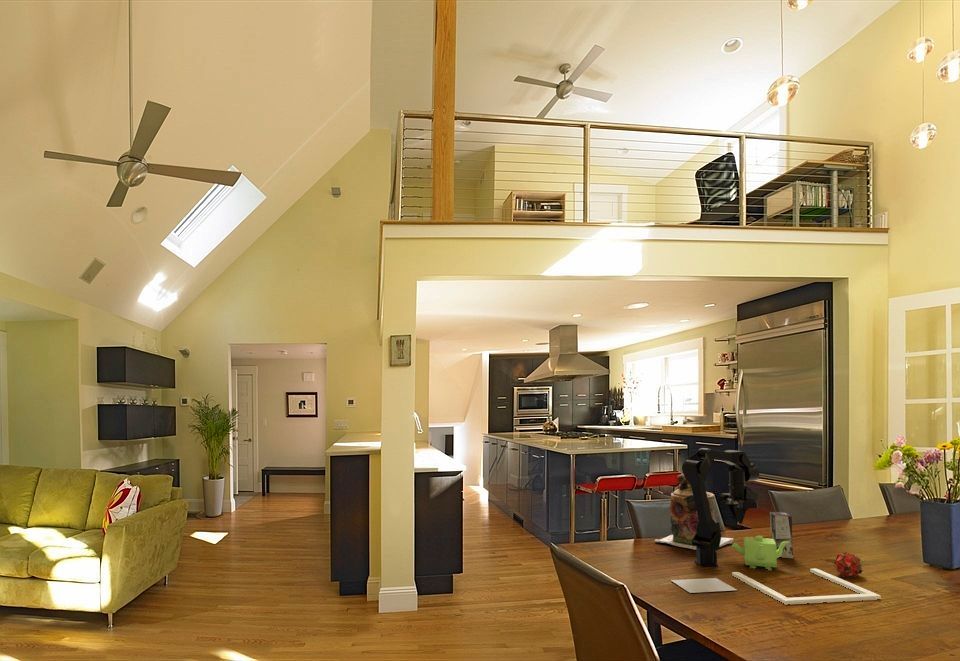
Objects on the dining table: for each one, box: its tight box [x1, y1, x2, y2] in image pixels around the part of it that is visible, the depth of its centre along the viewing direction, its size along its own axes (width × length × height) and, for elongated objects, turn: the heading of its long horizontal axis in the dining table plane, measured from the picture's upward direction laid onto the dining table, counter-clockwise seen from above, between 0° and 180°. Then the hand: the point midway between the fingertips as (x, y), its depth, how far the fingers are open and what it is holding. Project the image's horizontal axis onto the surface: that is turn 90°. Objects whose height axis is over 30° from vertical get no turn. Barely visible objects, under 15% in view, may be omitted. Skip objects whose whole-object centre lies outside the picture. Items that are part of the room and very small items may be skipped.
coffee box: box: [769, 511, 794, 559], centre depth 264 cm, size 9×6×16 cm
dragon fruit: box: [833, 551, 863, 578], centre depth 235 cm, size 8×8×12 cm
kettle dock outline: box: [731, 567, 882, 606], centre depth 222 cm, size 32×31×1 cm
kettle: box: [731, 535, 789, 571], centre depth 247 cm, size 15×14×11 cm
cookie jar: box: [654, 471, 734, 551], centre depth 284 cm, size 25×25×32 cm
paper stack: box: [670, 577, 738, 594], centre depth 218 cm, size 23×25×1 cm
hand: (738, 523), depth 261 cm, fingers open, 3 cm apart
